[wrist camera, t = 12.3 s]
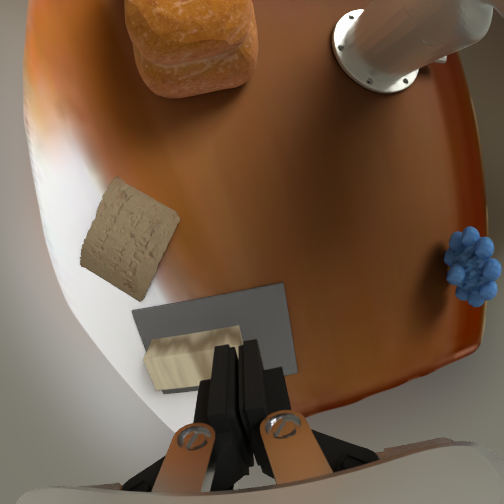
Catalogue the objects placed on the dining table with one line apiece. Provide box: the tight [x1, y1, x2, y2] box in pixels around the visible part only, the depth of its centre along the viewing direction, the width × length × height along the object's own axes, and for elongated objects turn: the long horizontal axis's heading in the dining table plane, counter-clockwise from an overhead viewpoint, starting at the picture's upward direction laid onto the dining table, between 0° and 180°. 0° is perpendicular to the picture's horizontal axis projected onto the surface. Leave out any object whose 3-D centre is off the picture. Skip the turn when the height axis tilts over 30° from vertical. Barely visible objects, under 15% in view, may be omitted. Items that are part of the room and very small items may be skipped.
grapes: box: [444, 226, 501, 307], centre depth 35 cm, size 12×7×12 cm, turn 18°
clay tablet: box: [80, 177, 181, 302], centre depth 37 cm, size 14×10×3 cm
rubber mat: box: [132, 282, 298, 394], centre depth 41 cm, size 20×14×1 cm
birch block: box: [144, 325, 243, 390], centre depth 39 cm, size 5×5×12 cm
